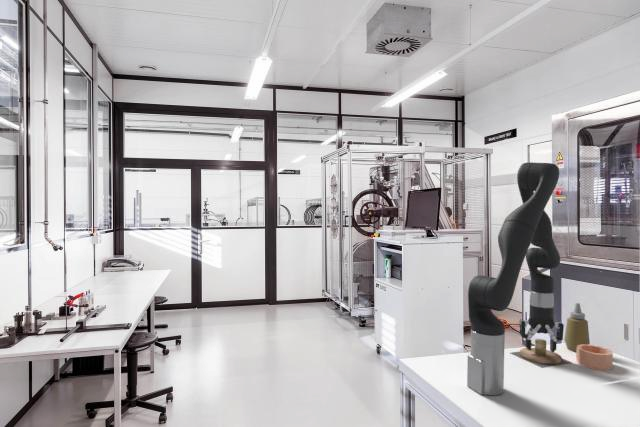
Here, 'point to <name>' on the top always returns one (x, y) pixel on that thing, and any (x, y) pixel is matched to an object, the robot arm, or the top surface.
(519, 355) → the mat
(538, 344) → the lid
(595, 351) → the bowl
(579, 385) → the top surface
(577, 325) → the squeeze bottle
